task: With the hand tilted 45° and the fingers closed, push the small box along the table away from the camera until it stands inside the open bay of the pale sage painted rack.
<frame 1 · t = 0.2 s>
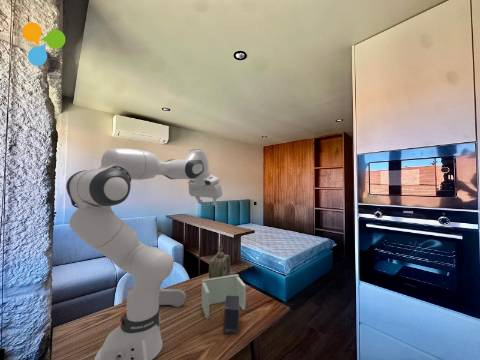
hand: (207, 204, 110), 52 cm above the table, tool tilted 20°, fingers open, 8 cm apart
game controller: (166, 306, 104), on the table
rack: (220, 301, 108), on the table
small box: (231, 325, 91), on the table
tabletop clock: (219, 285, 126), on the table
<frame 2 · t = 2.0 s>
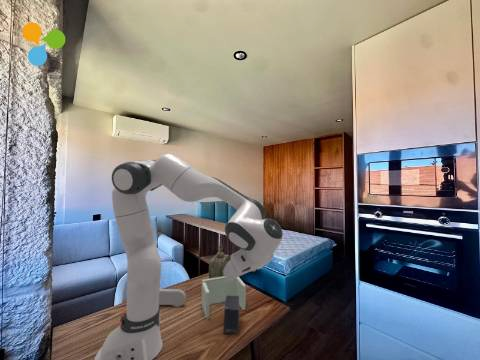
hand: (243, 273, 80), 28 cm above the table, tool tilted 40°, fingers open, 8 cm apart
nothing on the table moved.
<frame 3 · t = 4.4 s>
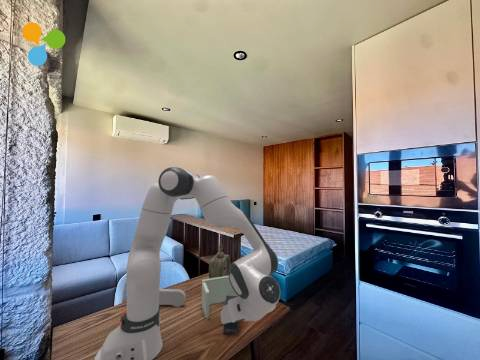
hand: (243, 315, 79), 12 cm above the table, tool tilted 45°, fingers closed
nothing on the table moved.
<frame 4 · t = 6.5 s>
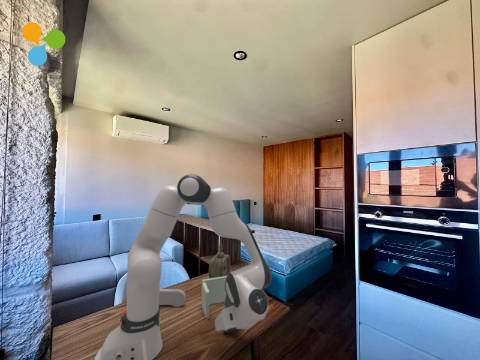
hand: (236, 323, 85), 5 cm above the table, tool tilted 45°, fingers closed
small box: (231, 325, 91), on the table, touching gripper
everything else where it was.
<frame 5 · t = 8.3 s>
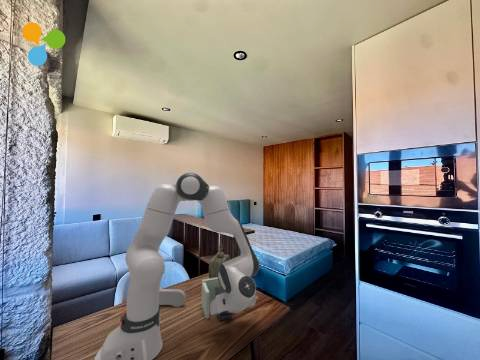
hand: (229, 309, 94), 5 cm above the table, tool tilted 45°, fingers closed, pressing on small box
small box: (222, 313, 99), on the table, touching gripper
everything else where it was.
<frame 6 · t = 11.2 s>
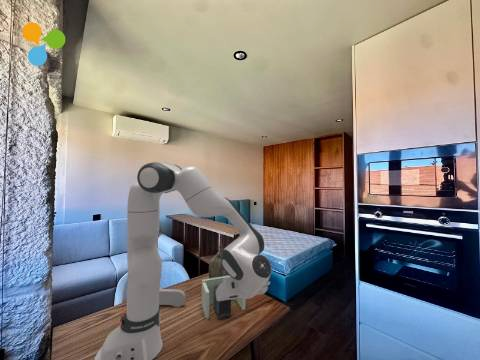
hand: (237, 297, 84), 17 cm above the table, tool tilted 45°, fingers closed
small box: (222, 311, 100), on the table
everything else where it was.
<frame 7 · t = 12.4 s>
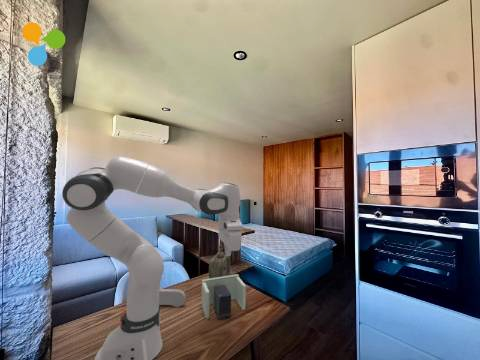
hand: (227, 254, 85), 34 cm above the table, tool pointing down, fingers closed
nothing on the table moved.
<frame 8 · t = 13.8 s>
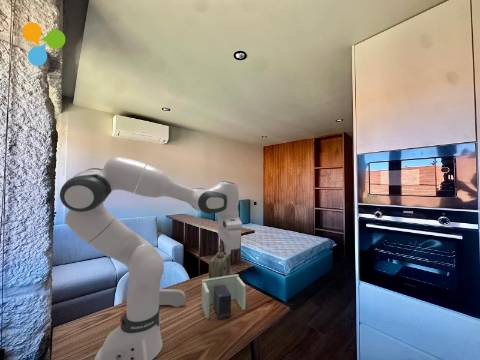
hand: (227, 253, 85), 34 cm above the table, tool pointing down, fingers closed
nothing on the table moved.
at the end: small box inside the target area (2.9 cm from its centre), on the table; small box moved 10.9 cm from its start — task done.
